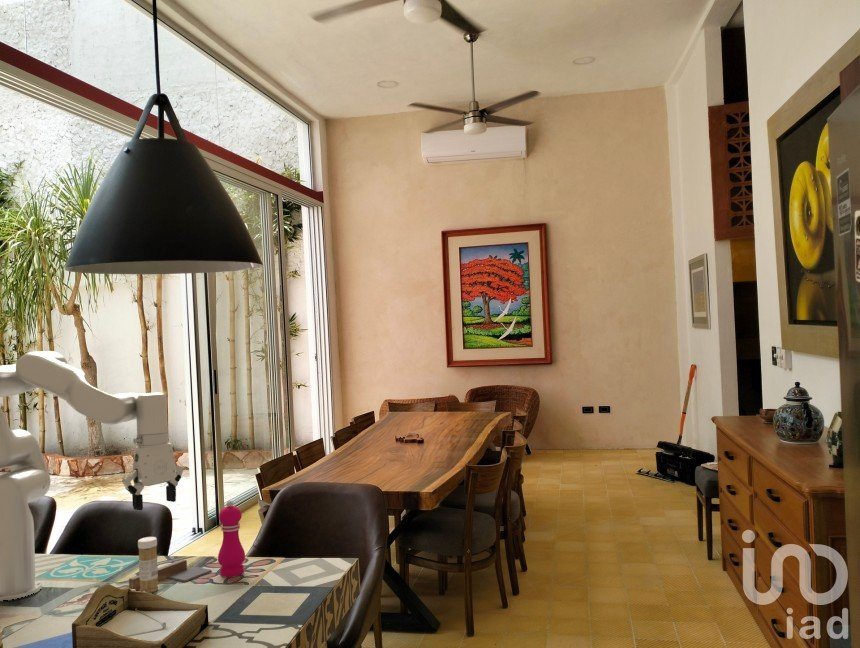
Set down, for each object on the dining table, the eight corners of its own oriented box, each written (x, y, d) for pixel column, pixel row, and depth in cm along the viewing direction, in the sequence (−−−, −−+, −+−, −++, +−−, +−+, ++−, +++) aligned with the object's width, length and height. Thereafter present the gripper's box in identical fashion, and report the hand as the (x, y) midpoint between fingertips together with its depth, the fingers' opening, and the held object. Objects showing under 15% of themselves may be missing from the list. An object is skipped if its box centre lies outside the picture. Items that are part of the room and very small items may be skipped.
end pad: (167, 578, 187) (167, 576, 187) (194, 568, 195) (194, 566, 195) (184, 582, 183) (184, 580, 183) (211, 571, 191) (211, 569, 191)
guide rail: (129, 590, 179) (128, 578, 179) (183, 569, 194) (182, 559, 194) (133, 591, 178) (132, 579, 178) (186, 570, 193) (186, 560, 193)
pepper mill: (229, 579, 184) (226, 505, 184) (212, 575, 188) (210, 502, 189) (251, 572, 190) (248, 499, 190) (234, 567, 194) (232, 496, 194)
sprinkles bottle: (151, 586, 181) (150, 535, 181) (162, 589, 179) (160, 537, 179) (135, 592, 177) (134, 539, 178) (145, 595, 175) (144, 542, 175)
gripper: (130, 445, 171) (133, 514, 171) (189, 435, 185) (192, 499, 185) (113, 444, 175) (115, 511, 175) (172, 434, 189) (174, 496, 189)
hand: (155, 505), depth 180 cm, fingers open, 9 cm apart
